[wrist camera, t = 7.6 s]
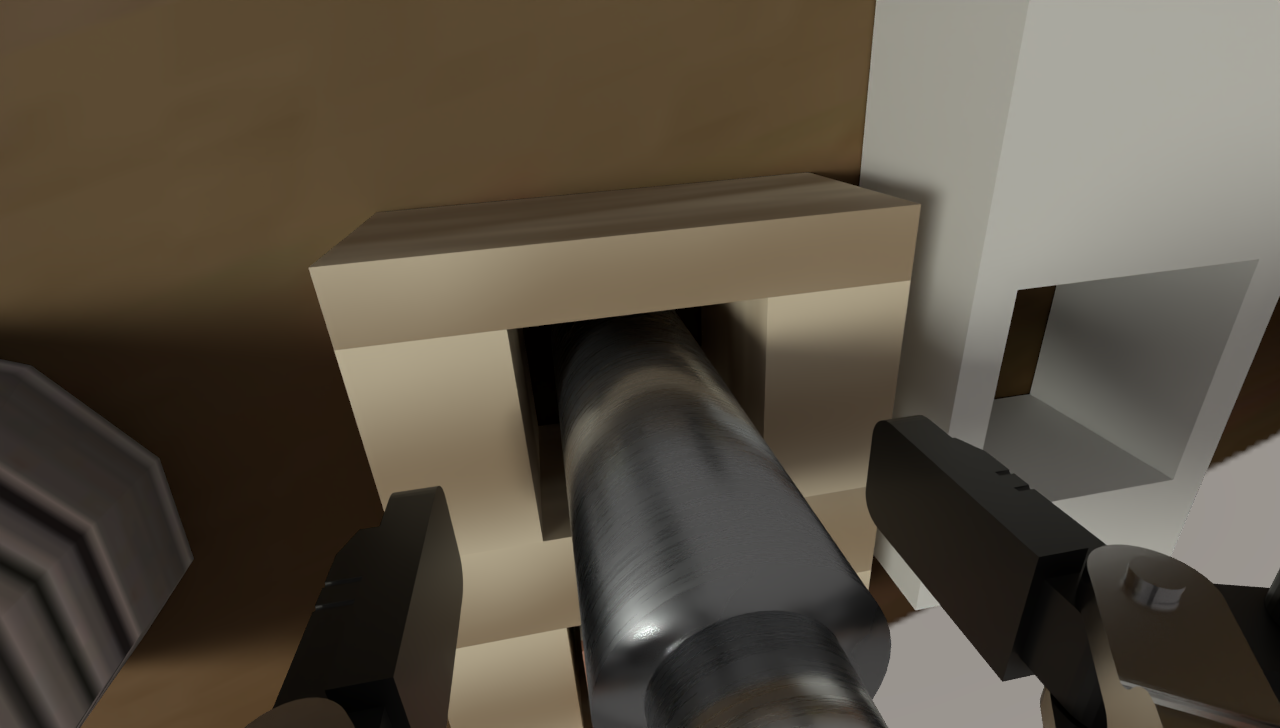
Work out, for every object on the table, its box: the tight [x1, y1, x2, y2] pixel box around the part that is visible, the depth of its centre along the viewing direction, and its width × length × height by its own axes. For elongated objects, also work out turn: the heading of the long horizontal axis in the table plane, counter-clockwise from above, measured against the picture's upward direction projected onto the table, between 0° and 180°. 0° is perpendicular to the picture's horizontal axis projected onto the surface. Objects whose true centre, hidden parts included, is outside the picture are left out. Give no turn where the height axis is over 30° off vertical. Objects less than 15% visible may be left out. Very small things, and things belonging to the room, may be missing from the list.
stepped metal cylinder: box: [551, 309, 891, 728], centre depth 11 cm, size 4×4×13 cm
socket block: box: [309, 172, 921, 728], centre depth 16 cm, size 15×11×5 cm
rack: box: [859, 0, 1280, 610], centre depth 16 cm, size 15×8×5 cm, turn 4°
